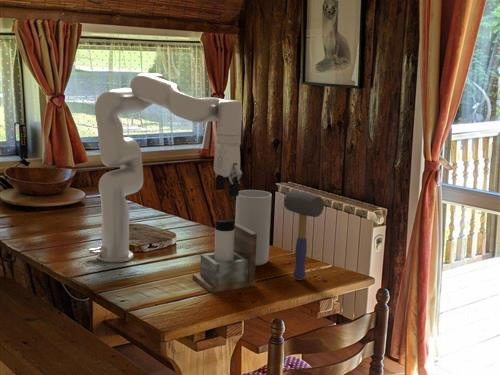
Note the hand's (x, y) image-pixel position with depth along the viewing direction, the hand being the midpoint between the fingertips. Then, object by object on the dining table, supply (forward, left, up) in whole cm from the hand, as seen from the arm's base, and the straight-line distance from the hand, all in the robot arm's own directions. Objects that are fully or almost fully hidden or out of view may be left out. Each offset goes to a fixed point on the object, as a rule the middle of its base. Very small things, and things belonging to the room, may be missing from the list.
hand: (226, 192), depth 209 cm
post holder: (0, 0, -30) cm, 30 cm away
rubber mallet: (+25, -7, -30) cm, 40 cm away
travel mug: (0, -1, -29) cm, 29 cm away
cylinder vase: (+19, +16, -30) cm, 39 cm away
